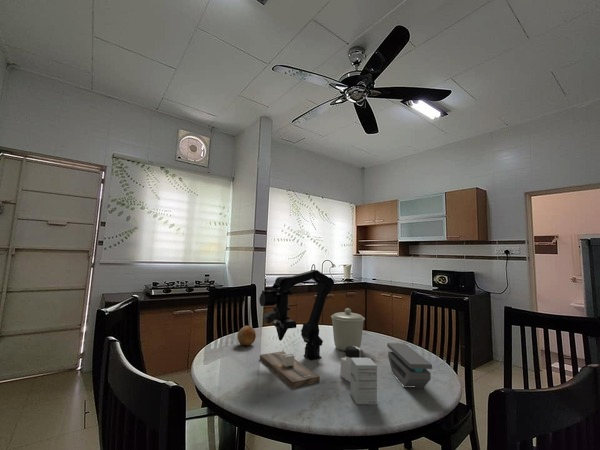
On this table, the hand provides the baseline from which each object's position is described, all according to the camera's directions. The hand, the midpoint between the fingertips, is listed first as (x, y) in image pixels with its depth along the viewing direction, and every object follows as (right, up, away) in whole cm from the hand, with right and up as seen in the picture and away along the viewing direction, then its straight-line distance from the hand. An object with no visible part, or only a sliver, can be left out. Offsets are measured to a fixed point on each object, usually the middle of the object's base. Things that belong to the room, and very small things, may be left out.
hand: (280, 340), depth 127 cm
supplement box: (+31, -8, -31) cm, 44 cm away
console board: (+3, -10, -7) cm, 12 cm away
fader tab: (+4, -7, -8) cm, 11 cm away
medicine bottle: (+30, -10, -14) cm, 34 cm away
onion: (-20, -13, +23) cm, 33 cm away
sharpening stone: (+52, -11, -14) cm, 55 cm away
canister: (+34, -14, +23) cm, 44 cm away
